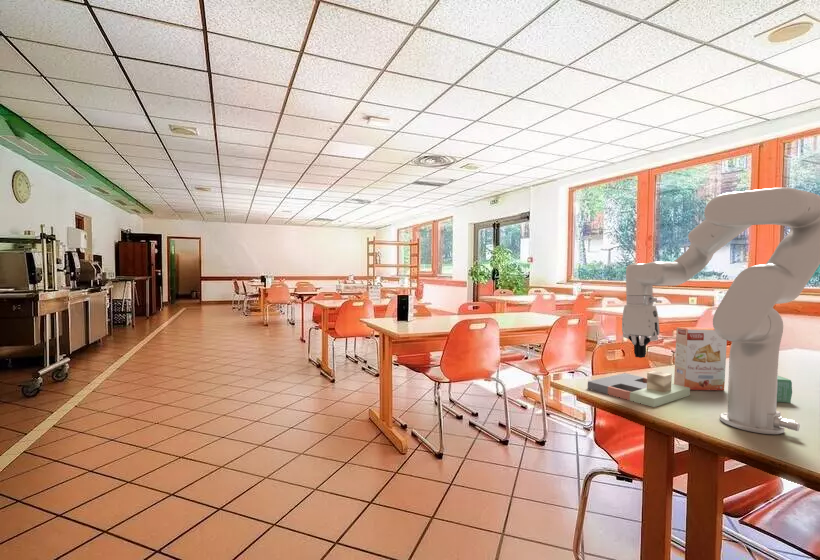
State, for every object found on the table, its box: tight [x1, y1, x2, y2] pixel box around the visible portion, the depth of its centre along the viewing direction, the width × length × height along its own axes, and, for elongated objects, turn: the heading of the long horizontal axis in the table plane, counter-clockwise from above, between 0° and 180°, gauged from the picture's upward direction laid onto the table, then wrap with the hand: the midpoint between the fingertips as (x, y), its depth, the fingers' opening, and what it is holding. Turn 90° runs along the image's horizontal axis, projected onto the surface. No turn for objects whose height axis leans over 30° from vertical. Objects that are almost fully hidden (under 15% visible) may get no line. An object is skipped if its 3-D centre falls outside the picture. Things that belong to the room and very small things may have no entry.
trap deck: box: [587, 372, 691, 408], centre depth 130 cm, size 21×23×2 cm
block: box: [646, 370, 673, 392], centre depth 124 cm, size 5×5×5 cm
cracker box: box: [673, 326, 728, 391], centre depth 135 cm, size 14×6×21 cm, turn 92°
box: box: [777, 375, 793, 404], centre depth 126 cm, size 7×14×8 cm, turn 81°
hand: (640, 357), depth 129 cm, fingers closed
